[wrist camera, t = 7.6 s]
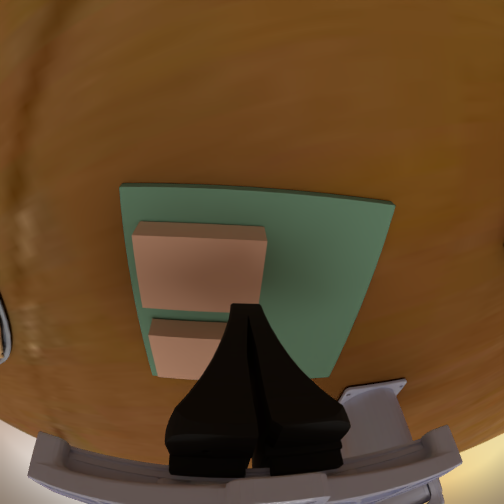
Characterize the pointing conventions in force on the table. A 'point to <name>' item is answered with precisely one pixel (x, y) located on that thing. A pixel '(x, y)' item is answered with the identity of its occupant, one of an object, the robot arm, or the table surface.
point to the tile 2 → (184, 346)
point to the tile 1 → (198, 265)
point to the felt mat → (278, 257)
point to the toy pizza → (4, 336)
